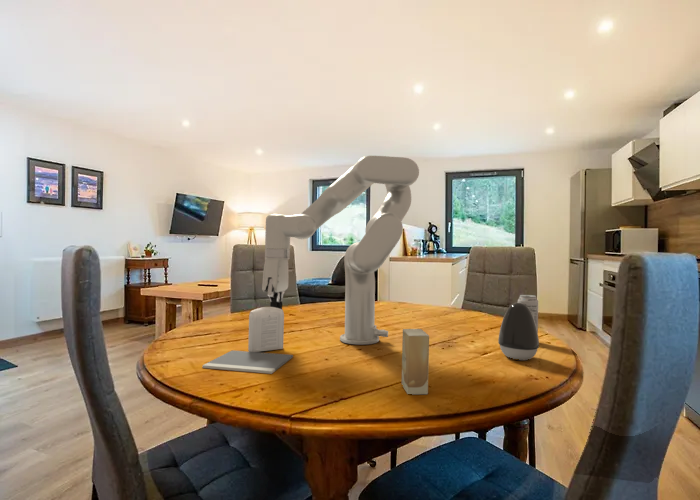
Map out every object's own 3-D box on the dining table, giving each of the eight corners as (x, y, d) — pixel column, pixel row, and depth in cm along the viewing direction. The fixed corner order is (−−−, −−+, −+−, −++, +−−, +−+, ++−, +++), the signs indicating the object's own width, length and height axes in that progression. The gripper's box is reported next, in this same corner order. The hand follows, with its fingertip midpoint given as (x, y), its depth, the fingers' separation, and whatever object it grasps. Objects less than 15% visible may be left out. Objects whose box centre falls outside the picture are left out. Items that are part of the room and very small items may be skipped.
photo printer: (279, 346, 114) (280, 304, 114) (285, 349, 110) (286, 306, 110) (246, 350, 108) (246, 307, 108) (251, 354, 104) (251, 309, 104)
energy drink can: (538, 341, 123) (539, 295, 123) (536, 345, 118) (537, 297, 118) (518, 338, 127) (519, 294, 126) (515, 342, 121) (516, 295, 121)
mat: (292, 357, 102) (292, 354, 102) (271, 373, 88) (271, 371, 88) (231, 352, 106) (231, 350, 106) (202, 367, 92) (202, 365, 92)
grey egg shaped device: (544, 357, 105) (544, 302, 105) (531, 365, 97) (532, 306, 97) (506, 350, 112) (507, 299, 112) (492, 357, 104) (493, 302, 104)
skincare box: (400, 384, 83) (401, 328, 83) (420, 383, 83) (421, 328, 83) (407, 395, 76) (408, 334, 76) (429, 395, 77) (429, 334, 76)
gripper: (275, 254, 124) (274, 310, 124) (255, 254, 110) (253, 317, 110) (297, 254, 123) (296, 311, 123) (279, 255, 108) (277, 319, 108)
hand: (276, 314), depth 116 cm, fingers closed
